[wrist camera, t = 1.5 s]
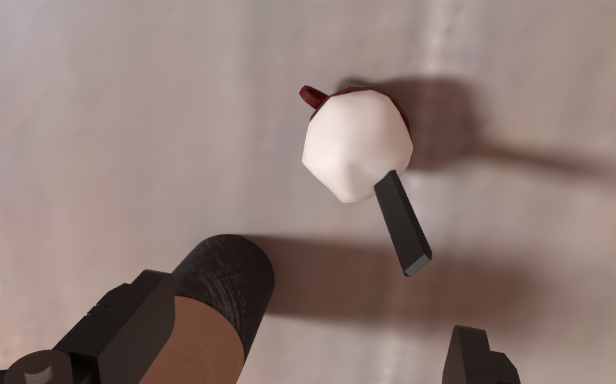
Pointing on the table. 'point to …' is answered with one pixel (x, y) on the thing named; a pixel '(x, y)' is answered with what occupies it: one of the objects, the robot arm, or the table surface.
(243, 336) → the travel mug
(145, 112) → the table surface
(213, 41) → the table surface
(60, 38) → the table surface
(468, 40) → the table surface
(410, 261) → the cocoa
